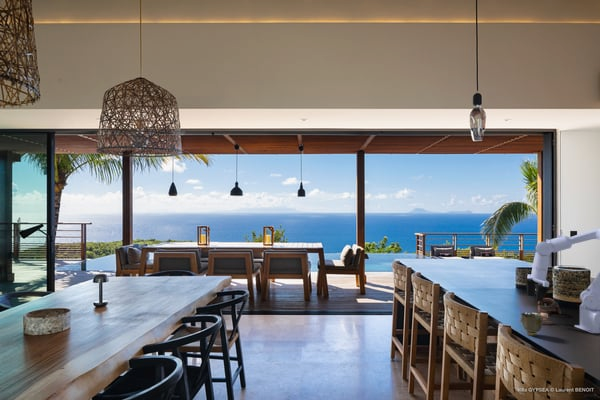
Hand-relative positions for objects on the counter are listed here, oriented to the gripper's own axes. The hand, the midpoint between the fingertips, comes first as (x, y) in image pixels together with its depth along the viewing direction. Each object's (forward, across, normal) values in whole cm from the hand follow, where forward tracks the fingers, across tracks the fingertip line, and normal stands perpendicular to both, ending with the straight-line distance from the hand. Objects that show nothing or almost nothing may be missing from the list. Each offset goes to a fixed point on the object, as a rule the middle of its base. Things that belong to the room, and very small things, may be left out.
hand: (534, 298), depth 169 cm
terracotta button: (+7, +2, +4) cm, 9 cm away
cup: (+10, +21, -10) cm, 25 cm away
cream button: (+8, +3, -3) cm, 9 cm away
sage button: (+8, +2, +1) cm, 8 cm away
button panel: (+10, +3, +1) cm, 10 cm away
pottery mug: (+10, -16, +16) cm, 24 cm away
